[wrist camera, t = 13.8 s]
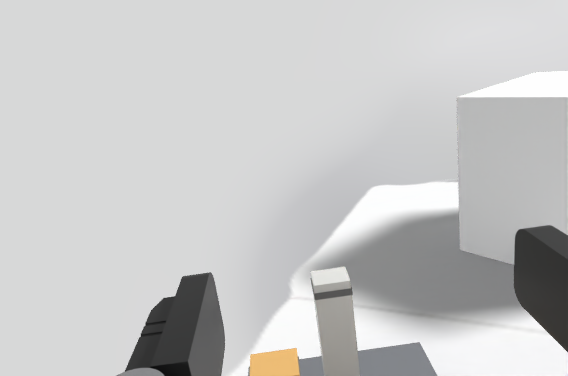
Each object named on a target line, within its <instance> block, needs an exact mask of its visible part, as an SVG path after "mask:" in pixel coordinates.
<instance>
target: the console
mask: <svg viewBox="0 0 568 376" xmlns="http://www.w3.org/2000/svg"><path fill="white" fill-rule="evenodd" d="M358 360H359V370H360V376H437V374H436V373H435V371H434V369H433V367H432V365H431V363H430V361H429V359H428V357H427V356H426V354H425V352H424V350H423V348H422V346H421V344H420V342H418V343H411V344H404V345H397V346H390V347H383V348H376V349H369V350H362V351H358ZM299 364H300V372H301V376H324V371H323V363H322V356H320V357H313V358H306V359H299ZM248 376H250V367H249V372H248Z"/></svg>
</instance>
